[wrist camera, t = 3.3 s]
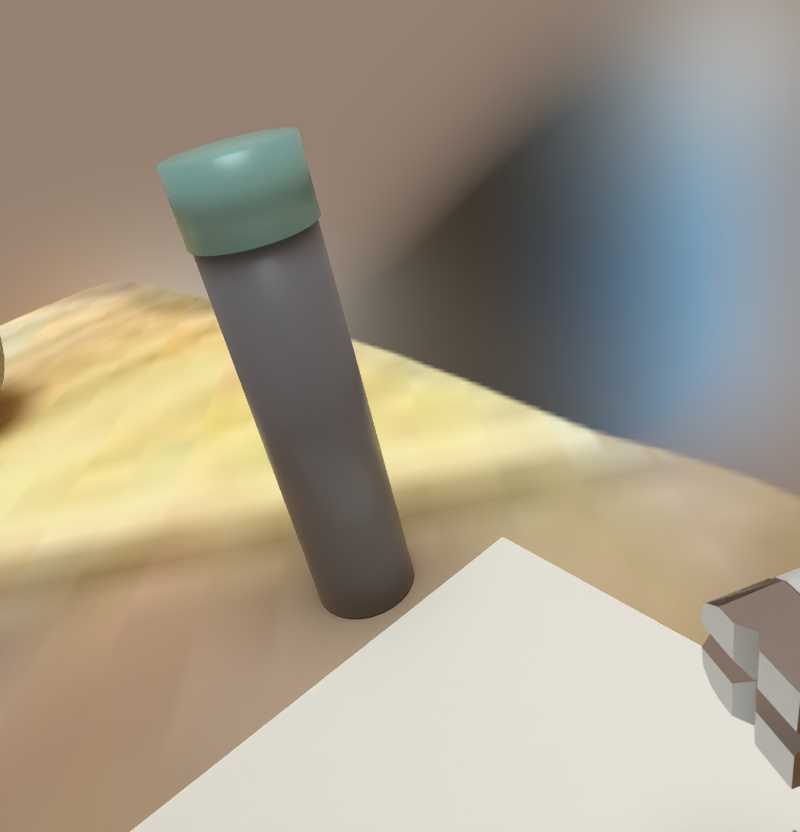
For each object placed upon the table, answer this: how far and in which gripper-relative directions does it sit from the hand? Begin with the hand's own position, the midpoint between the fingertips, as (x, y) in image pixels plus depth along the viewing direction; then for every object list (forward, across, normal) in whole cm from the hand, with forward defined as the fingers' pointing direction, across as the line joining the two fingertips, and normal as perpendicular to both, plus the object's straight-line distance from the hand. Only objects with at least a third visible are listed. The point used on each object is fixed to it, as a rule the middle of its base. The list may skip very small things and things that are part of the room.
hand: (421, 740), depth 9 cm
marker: (+12, 0, +8) cm, 15 cm away
